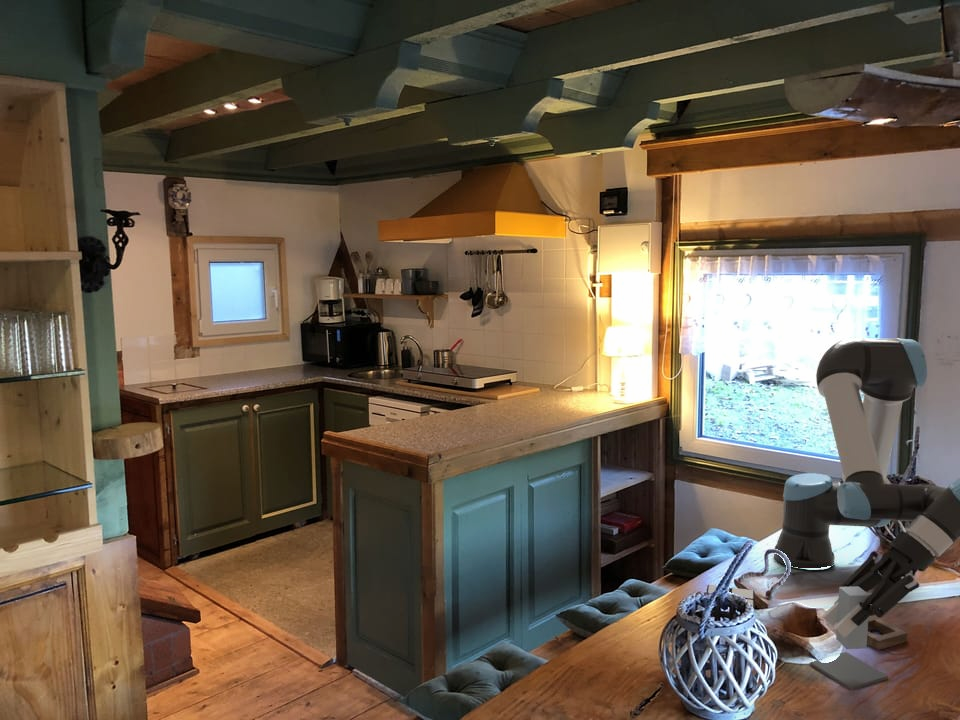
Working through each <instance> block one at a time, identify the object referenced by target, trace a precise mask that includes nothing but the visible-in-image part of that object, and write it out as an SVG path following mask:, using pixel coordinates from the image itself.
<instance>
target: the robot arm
mask: <svg viewBox="0 0 960 720" xmlns="http://www.w3.org/2000/svg"><path fill="white" fill-rule="evenodd" d="M815 377H816V378H815V379H816V385H817V389H818V392H819V393H818V394H819V395H820V396H821V397H823V398H824V399H825V404H826V408H827V412H828V417H829V420H830V424H831V429H832V434H833V438H834V441H835V445H836V449H837V453H838V458H839V461H840V465H841V466H840V467H841V469H842V474H841V479H840V480H839V481H838V480H836V481H835V480H834V481H833V479H832V478H831V477H830V476H829V475H827V474H823V473H815V472H811V473H810V472H809V473H808V472H807V473H806V472H805V473H799V474H795V475H792V476H790V477H789V478H787V479H786V481H785V483H784V489H783V494H782V497H783V505H782V525H781V526H782V528H781V532H780V534H779V536H778V539H777V542H776V544H775V546H774V549H778V550H780V551H782V552H783V553H785V554H786V555H787V557H788V558H789V560H790V562H791V566H793V567H798V568H821V567H827V566H832V565H833V564H834V565H835V558H836V557H835V553H834V552H833V548H832V544H831V543H832V542H831V540H830V535H829V534H830V526H842V527H843V526H847V527H865V528H874V527H875V528H876V527H877V528H879V527H880V528H881V527H885V526H887V525H889V524H890V522H891V521H899V522H900V521H901V522H903V521H904V522H910V523H909V524H908V525H907V526H905V528H904V529H905V531H903V532H900V533H898V534H897V535H896V537H895V538H894V539H892V540H891V542H890V544H889V545H890V549H889V550H888V551H886V552H884V553H883V554H879V553H877V551H875V550H873V551H871V552H870V554H869V556H868V557H867V559H866V560H865V561H864V562H863V563H862V564H861V565H859V567H858V568H857V569H856V570H855V571H854V572H853V573H852V574H851V575H849V577H848V578H847V579H846V580H845V581H844V582H843V583H842V584H841V587H856V586H859V587H860V588H861V589H863V590H864V591H865V592H866V593H868V592H869V591H871V590H872V589H873V588H874V589H873V590H872V592H870V594H869V595H870V596H869V597H868V598H867V599H866V601H865V602H864V603H862V602H860V603H859V604H860V605H861V606H862V607H863V608H862V607H861V606H860V605H859V604H858V605H857V606H856V607H855V608H854V609H852V610H851V611H850V612H849V613H848V614H847V615H846V616H845V617H844V618H843V619H842V620H841V621H840V622H839V623H838V624H837V616H838V599H837V600H836V601H835V602H834V603H833V605H832V606H831V607H830V608H829V609H828V610H826V612H824V613H823V615H822V616H821V617H823V619H824V620H825V621H826V622H827V624H829V625H830V626H832V627H833V628H834V629H835V631H836V632H837V631H838V632H839V633H840V634H841V635H842V636H843V637H844V638H845V637H846V636H847V635H848V634H849V633H850V632H852V631H853V630H854V629H855V628H856V627H857V626H859V625H861V624H862V623H863V622H864V621H865V620H866V619H867V618H868V617H871V616H875V617H877V618H879V619H881V618H883V617H884V616H885V615H886V614H887V613H888V612H889V611H890V610H891V609H892V608H894V607H895V606H896V605H897V604H898V603H899V602H901V601H902V600H903V599H904V598H905V597H906V596H907V595H908V594H909V593H911V592H913V591H915V590H916V589H919V587H920V583H919V582H918V581H917V580H916V579H915V576H916V573H917V572H925V571H926V570H927V569H928V568H929V567H930V566H931V565H932V564H933V563H935V561H936V560H935V559H936V558H935V557H940V556H942V554H943V553H944V552H946V551H947V549H948V548H950V547H951V546H952V545H953V544H954V543H955V542H956V541H957V540H958V539H959V538H960V477H959V478H957V479H956V480H955V481H953V482H952V483H950V484H949V485H948V487H943V486H939V485H936V484H933V483H918V484H902V483H901V484H897V483H891V481H890V480H889V479H888V477H887V474H888V469H889V464H890V462H891V461H890V460H891V455H892V451H893V447H894V443H895V438H896V434H897V430H898V425H899V421H900V420H899V419H900V417H901V412H902V409H903V408H902V406H903V402H906V401H908V400H910V399H911V397H912V395H913V391H914V388H915V389H919V388H922V387H923V386H924V385H925V384H926V381H927V379H928V378H927V377H928V363H927V358H926V354H925V352H924V349H923V347H922V345H921V344H920V343H919V342H918V341H916V340H914V339H911V338H907V339H906V338H899V337H896V338H864V337H863V338H859V337H849V338H845V339H842V340H840V341H838V342H836V343H834V344H833V345H832V346H830V348H829V349H828V350H826V351H825V352H824V354H823V355H822V357H821V358H820V360H819V363H818V365H817V369H816V374H815ZM861 393H862V394H863V398H862V396H861ZM773 558H774V559H775V561H777V562H778V563H779V564H781V565H783V566H785V563H784V561H783V559H782V558H781V557H780V556H779V555H777V554H774V553H773Z"/></svg>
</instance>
